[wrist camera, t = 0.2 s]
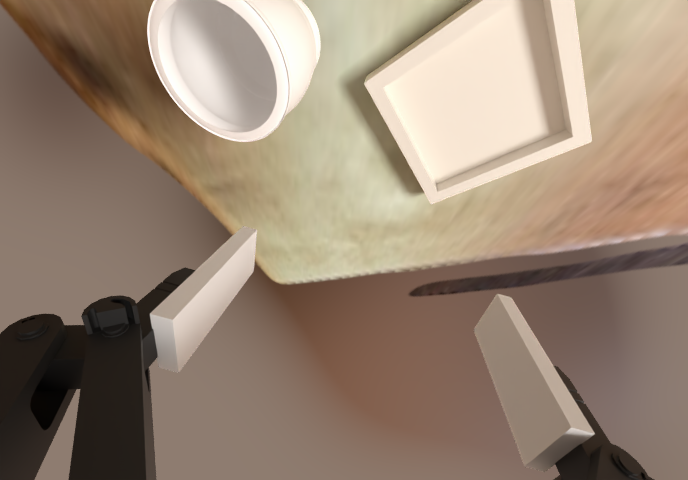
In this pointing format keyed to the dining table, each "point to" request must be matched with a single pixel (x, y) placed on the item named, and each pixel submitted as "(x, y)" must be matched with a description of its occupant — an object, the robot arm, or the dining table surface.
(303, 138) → the dining table surface
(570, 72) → the white square tray
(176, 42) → the jar
